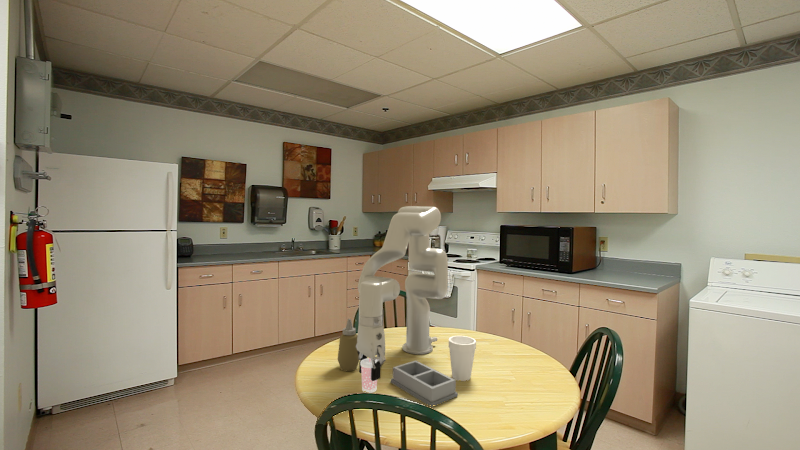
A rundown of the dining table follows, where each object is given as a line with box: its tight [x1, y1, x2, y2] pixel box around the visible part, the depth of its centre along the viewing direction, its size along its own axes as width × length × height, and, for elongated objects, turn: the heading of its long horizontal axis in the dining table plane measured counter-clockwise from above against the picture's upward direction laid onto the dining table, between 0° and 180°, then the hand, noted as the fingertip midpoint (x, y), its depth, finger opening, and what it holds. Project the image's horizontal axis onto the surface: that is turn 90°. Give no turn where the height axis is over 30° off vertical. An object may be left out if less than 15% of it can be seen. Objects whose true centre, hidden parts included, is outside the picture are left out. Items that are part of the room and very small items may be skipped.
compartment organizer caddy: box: [390, 360, 459, 408], centre depth 122 cm, size 20×11×5 cm, turn 38°
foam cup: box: [448, 335, 477, 382], centre depth 132 cm, size 10×9×13 cm
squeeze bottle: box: [337, 318, 360, 372], centre depth 137 cm, size 8×8×18 cm
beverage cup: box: [360, 357, 378, 394], centre depth 121 cm, size 6×6×14 cm
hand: (369, 375), depth 121 cm, fingers closed on beverage cup, 6 cm apart
